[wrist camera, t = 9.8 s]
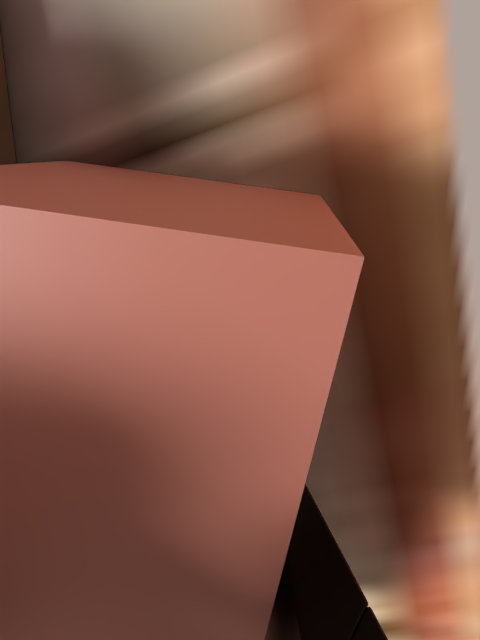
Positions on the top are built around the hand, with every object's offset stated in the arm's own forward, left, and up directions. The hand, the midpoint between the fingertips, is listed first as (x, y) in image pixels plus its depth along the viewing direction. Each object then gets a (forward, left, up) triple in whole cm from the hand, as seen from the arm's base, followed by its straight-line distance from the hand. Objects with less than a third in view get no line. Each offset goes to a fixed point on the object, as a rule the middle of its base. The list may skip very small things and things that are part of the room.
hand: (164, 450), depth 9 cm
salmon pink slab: (0, 0, -1) cm, 1 cm away
